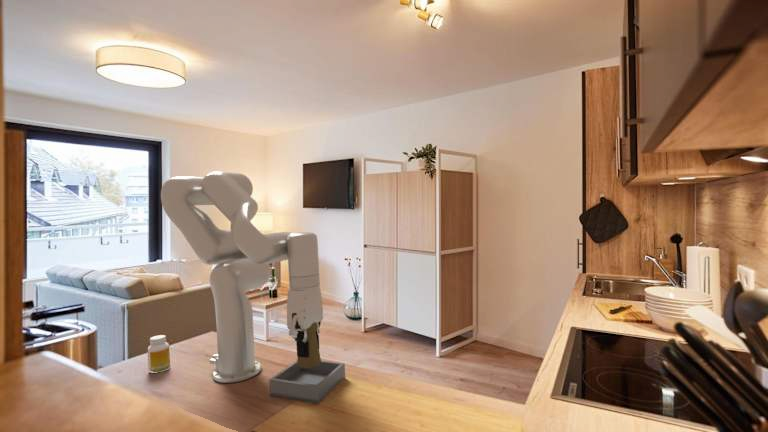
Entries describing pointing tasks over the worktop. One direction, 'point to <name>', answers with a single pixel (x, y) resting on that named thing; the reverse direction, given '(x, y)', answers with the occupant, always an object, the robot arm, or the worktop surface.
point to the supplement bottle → (158, 354)
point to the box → (307, 381)
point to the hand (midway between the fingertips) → (308, 352)
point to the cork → (310, 349)
